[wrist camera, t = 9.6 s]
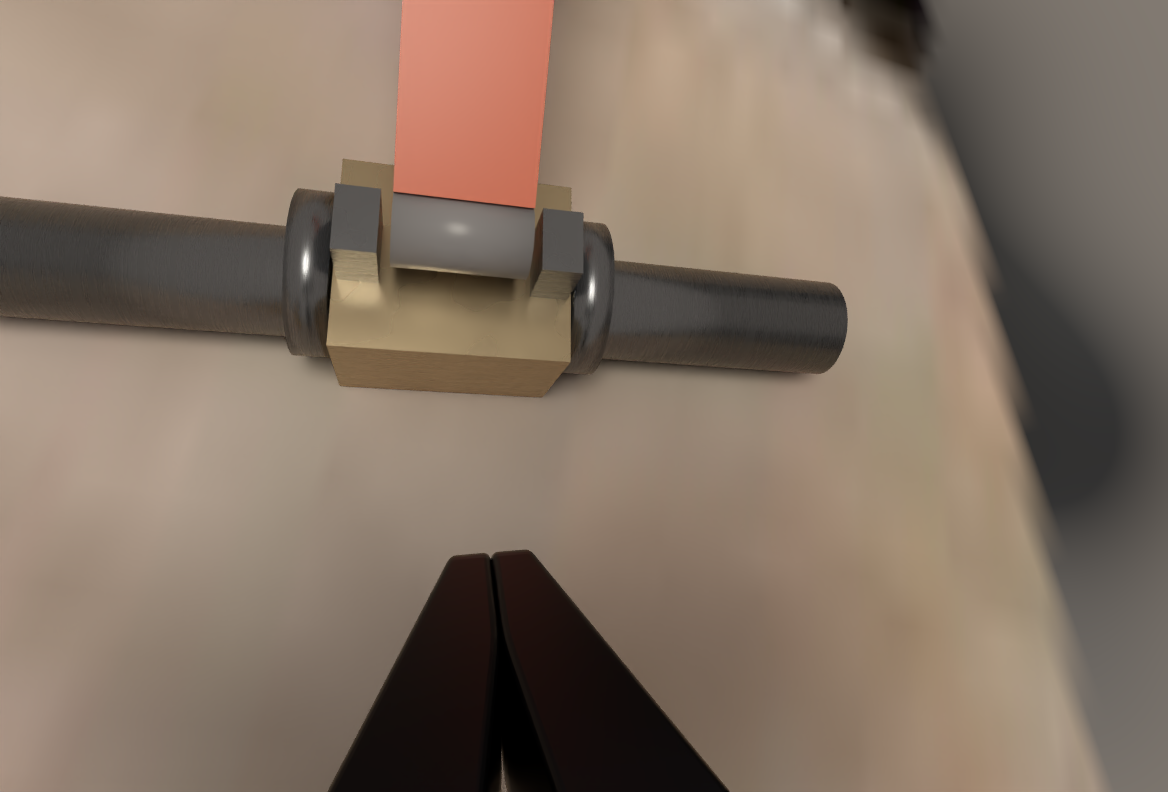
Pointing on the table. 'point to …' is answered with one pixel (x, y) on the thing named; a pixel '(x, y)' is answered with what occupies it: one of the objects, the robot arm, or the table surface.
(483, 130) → the lever
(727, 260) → the table surface
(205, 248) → the pipe valve
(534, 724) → the robot arm
